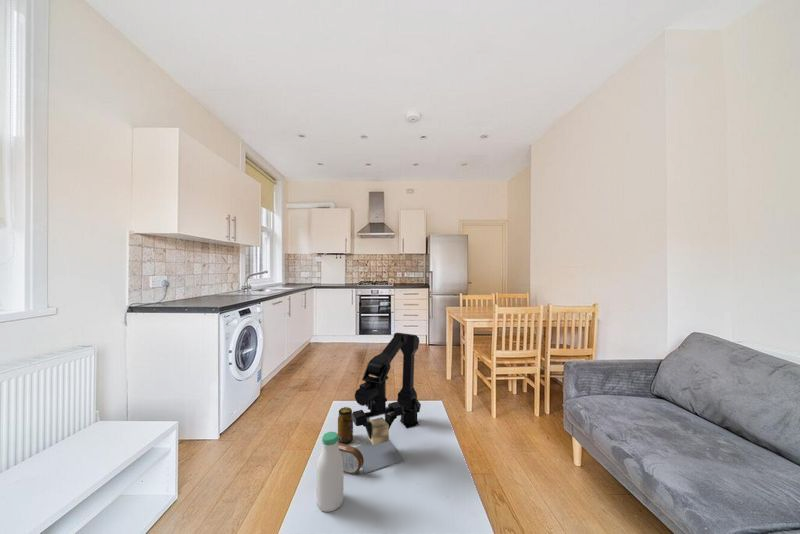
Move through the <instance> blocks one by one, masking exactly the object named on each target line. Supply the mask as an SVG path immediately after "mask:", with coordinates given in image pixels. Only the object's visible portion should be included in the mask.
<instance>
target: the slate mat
mask: <svg viewBox="0 0 800 534" xmlns="http://www.w3.org/2000/svg"><path fill="white" fill-rule="evenodd" d="M354 447H355V448H357V449H358V450H359V451H360V452H361V453H362V455H363V459H364V463H363V466H362V467H361V468H362V470H363V471H364V473H365V474H367V475H368V474H370V473H372V472H375V471H378V470H381V469H385V468H388V467H390V466H394V465H396V464H400V463H403V462H405V461H406V458H404V456H403V454H401V452H400V451H399V450H398V449H397V448H396V445H394V444H393V442H392V441H391V440H390V439H389V441H387V442H384V443H380V444H377V445H373V444H372V443H371V442H368V443H365V444H362V445H358V446H354Z"/></svg>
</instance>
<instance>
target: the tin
mask: <svg viewBox="0 0 800 534" xmlns="http://www.w3.org/2000/svg"><path fill="white" fill-rule="evenodd" d="M337 445H338V448H339V451H340V453H341V455H342V458H343V473H344V474H345V473H346V474H349V475H356V474H357V473H359V471H360V470H361V468H362V466H363V463H364V459H363V455H362V453H361V452H360V451H359V450H358V449H357V448H355V447H356V446H353V445H351V446H349V445H345V444H340V443H337Z"/></svg>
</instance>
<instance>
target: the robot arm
mask: <svg viewBox="0 0 800 534" xmlns="http://www.w3.org/2000/svg"><path fill="white" fill-rule="evenodd" d="M419 345H420V338H419V337H418V335H417V334H413V333H402V332H395V333H394V334H393V337H392V338H391V340H390V341H389V342H388V343H387V345H386V347H384V349H383V350H382V352H381V353H379V354H377V355H374V357H372V358H371V359H370V360H369V361H368V363H367V365H366V368H365V371H364V373H363V376H362V381H363V383H361V384H359V387H358V388H357V390H355V392H354V399H355V401H356V403H357V404H358V406H359V405H360V406H361V407H362V406H363V407H364V406H365V407H366V408H367V409H368V410H370V411H367V412H364V410H363V409H360V410H359V409H358V410H355V411H352V420H353V424H354V425H355V426H356V427H359V426H363V427H365V430H366V434H367V437H368V436H369V438H370V439H371V422H370V420H371V418H375V417H378V416H379V417H380V416H384V420H385V421H386V422H387V423H388V424H389V430H390V428H391V426H392V425H393V423H394V422H395V420H396V419H397V418H398V417H400V420H399V422H400V423H401V424H402V425H403V426H404V427H405V428H406V429H408V428H411V427H415V426H419V425H420V423H419V421H418V413H420V410H421V405H422V404H421V403H420V400H418V393H417V391H416V389H415V387H414V383H415V382H414V378H415V377H414V376H415V354H416V352H417V351H418V350H419ZM399 351H401V353H402V355H403V356H402V361H403V362H402V384H401V385H402V387H401V389H400V390H399V391H398V393H397V400H396V401H393V402H389V403H388V404H387V406H386V402H388V398H387V396H386V395H387V393H386V392H387V391H386V389H387V388H386V386H387V385H386V384H387V382H386V381H387V380H389V376H388V374H389V373H390V369H391V363H392V361H393V359H394V358H395V357H396V355H397V354H398V352H399ZM369 438H368V439H369Z"/></svg>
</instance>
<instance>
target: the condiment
mask: <svg viewBox="0 0 800 534" xmlns="http://www.w3.org/2000/svg"><path fill="white" fill-rule="evenodd" d="M352 413H353V410H352V408H351V407H348V406H346V407H345V406H343V407H341V408H339V410H338V415H337V416H338V417H337V434H338V443H340V444H345V445H349V446H353V445H355V444H357V443H359V442H360V440H359V439H357V438H356V437H355V436H353V434H354V422H353V420H352Z"/></svg>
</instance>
